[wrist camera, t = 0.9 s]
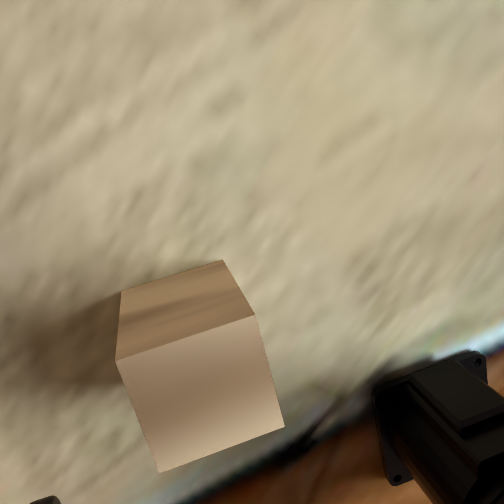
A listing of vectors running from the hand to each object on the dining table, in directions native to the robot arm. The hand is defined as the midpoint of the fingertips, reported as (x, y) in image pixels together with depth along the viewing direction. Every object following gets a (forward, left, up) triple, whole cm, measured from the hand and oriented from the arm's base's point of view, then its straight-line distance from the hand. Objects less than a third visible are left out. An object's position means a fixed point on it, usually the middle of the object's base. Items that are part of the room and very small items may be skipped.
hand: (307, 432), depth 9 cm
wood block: (-3, +2, -12) cm, 13 cm away
